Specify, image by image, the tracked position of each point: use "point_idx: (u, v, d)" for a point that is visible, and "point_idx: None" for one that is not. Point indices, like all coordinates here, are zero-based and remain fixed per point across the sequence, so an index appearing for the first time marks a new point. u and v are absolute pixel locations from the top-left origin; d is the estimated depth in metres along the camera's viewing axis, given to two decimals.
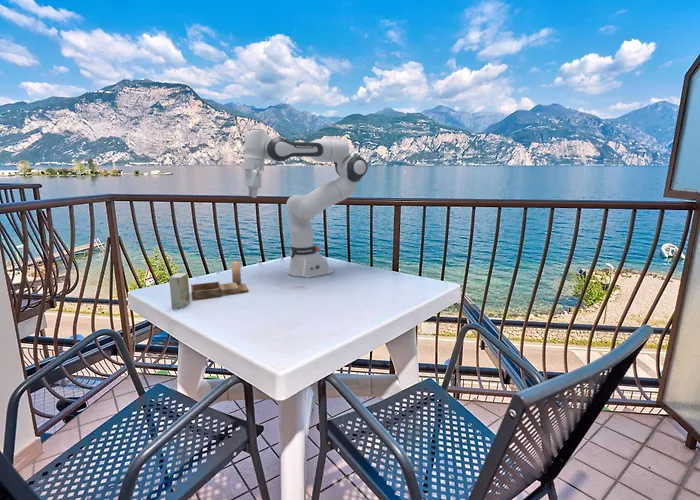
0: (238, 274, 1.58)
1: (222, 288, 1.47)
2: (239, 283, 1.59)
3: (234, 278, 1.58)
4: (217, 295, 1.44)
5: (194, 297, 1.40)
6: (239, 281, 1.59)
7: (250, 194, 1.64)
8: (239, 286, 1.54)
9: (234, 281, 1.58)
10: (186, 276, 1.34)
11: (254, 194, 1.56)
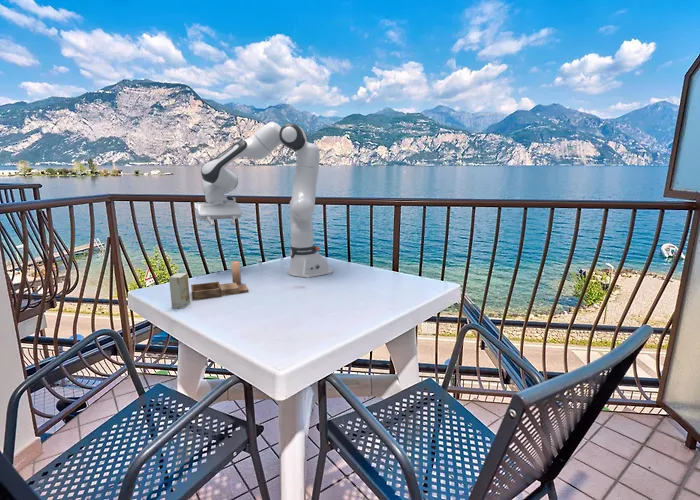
0: (238, 274, 1.58)
1: (222, 288, 1.47)
2: (239, 283, 1.59)
3: (234, 278, 1.58)
4: (217, 295, 1.44)
5: (194, 297, 1.40)
6: (239, 281, 1.59)
7: (231, 223, 1.68)
8: (239, 286, 1.54)
9: (234, 281, 1.58)
10: (186, 276, 1.34)
11: (210, 223, 1.62)
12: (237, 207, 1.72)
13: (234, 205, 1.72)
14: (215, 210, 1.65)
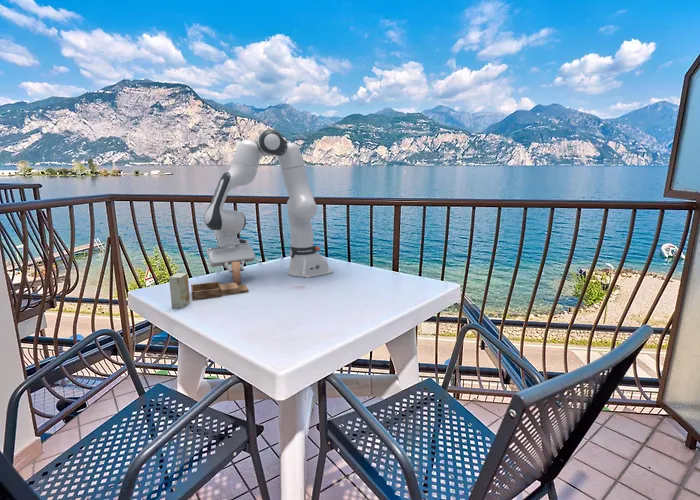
0: (238, 274, 1.58)
1: (222, 288, 1.47)
2: (239, 283, 1.59)
3: (234, 278, 1.58)
4: (217, 295, 1.44)
5: (194, 297, 1.40)
6: (239, 281, 1.59)
7: (240, 269, 1.60)
8: (239, 286, 1.54)
9: (234, 281, 1.58)
10: (186, 276, 1.34)
11: (228, 269, 1.57)
12: (250, 250, 1.65)
13: (247, 248, 1.65)
14: (228, 255, 1.59)
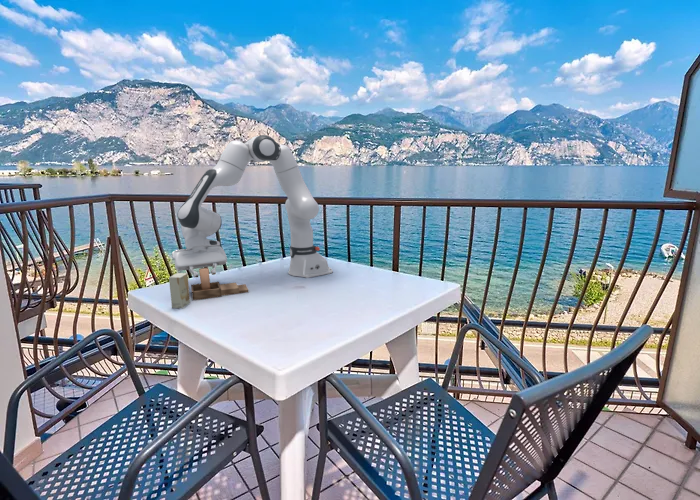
0: (207, 282, 1.44)
1: (222, 288, 1.47)
2: None
3: (203, 287, 1.44)
4: (217, 295, 1.44)
5: (194, 297, 1.40)
6: (208, 289, 1.45)
7: (211, 272, 1.46)
8: (239, 286, 1.54)
9: None
10: (186, 276, 1.34)
11: (193, 274, 1.42)
12: (222, 252, 1.51)
13: (218, 250, 1.51)
14: (196, 258, 1.45)
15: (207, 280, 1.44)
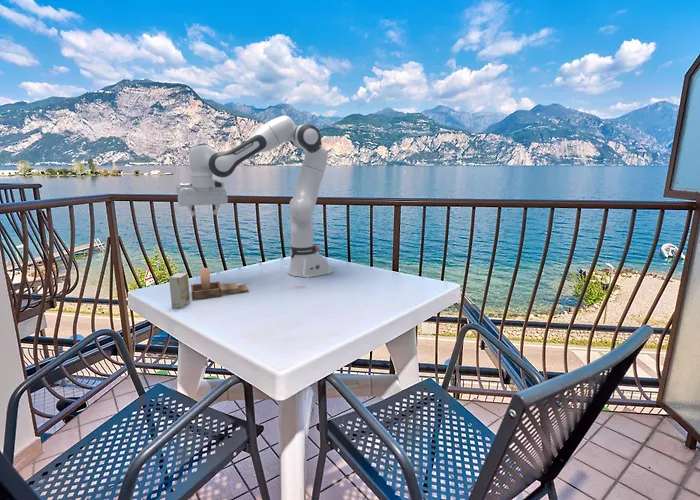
0: (207, 282, 1.44)
1: (222, 288, 1.47)
2: None
3: (203, 286, 1.44)
4: (217, 295, 1.44)
5: (194, 297, 1.40)
6: (208, 289, 1.45)
7: None
8: (239, 286, 1.54)
9: None
10: (186, 276, 1.34)
11: None
12: (224, 195, 1.57)
13: (221, 192, 1.56)
14: (199, 198, 1.51)
15: (207, 280, 1.44)
